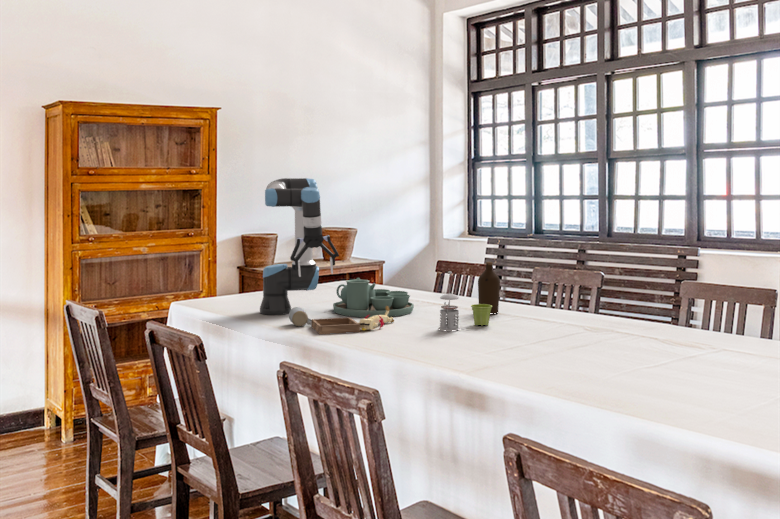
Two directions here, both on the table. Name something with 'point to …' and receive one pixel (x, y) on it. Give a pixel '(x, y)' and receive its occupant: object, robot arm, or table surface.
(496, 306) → the olive oil
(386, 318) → the cat figure
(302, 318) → the ceramic mug
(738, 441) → the table surface
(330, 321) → the tray
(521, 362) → the table surface
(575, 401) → the table surface
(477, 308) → the plant pot
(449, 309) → the french press
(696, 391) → the table surface
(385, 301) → the tea set
